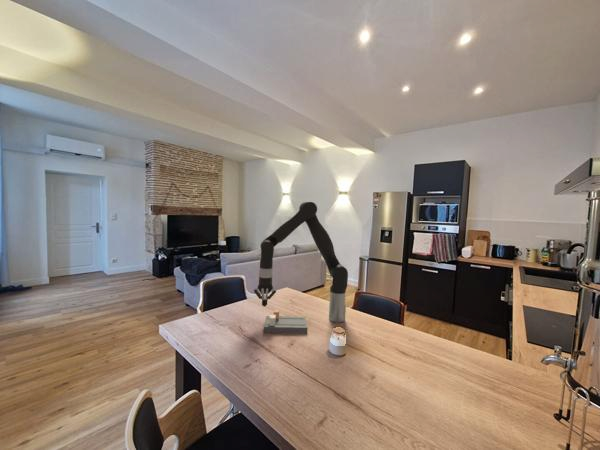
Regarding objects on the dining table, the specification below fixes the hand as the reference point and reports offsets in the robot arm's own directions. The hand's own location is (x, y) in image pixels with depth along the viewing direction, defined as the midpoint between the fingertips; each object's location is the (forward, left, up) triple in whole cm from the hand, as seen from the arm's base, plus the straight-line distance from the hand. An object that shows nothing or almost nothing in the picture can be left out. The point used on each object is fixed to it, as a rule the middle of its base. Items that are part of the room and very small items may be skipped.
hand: (264, 305), depth 141 cm
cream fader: (-5, +8, -7) cm, 12 cm away
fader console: (-12, +4, -10) cm, 16 cm away
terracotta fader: (-7, 0, -7) cm, 10 cm away
